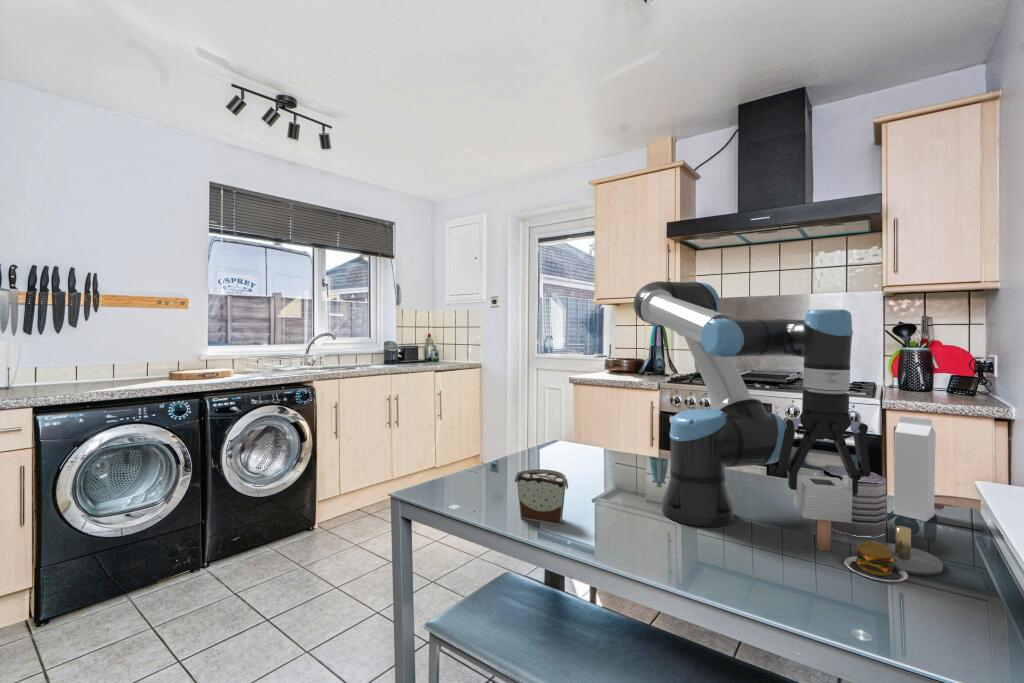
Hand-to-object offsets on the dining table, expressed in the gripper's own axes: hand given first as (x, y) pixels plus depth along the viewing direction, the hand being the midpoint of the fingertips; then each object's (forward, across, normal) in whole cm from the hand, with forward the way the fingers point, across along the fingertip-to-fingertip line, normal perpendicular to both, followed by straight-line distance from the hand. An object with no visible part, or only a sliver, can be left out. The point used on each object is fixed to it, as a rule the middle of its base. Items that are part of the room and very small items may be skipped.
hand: (821, 508), depth 96 cm
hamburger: (+8, +6, -8) cm, 13 cm away
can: (+8, +10, +13) cm, 18 cm away
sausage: (+7, 0, -1) cm, 8 cm away
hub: (+7, +12, -3) cm, 15 cm away
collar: (+1, 0, 0) cm, 1 cm away
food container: (+9, -54, 0) cm, 55 cm away
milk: (+8, +25, +25) cm, 36 cm away
